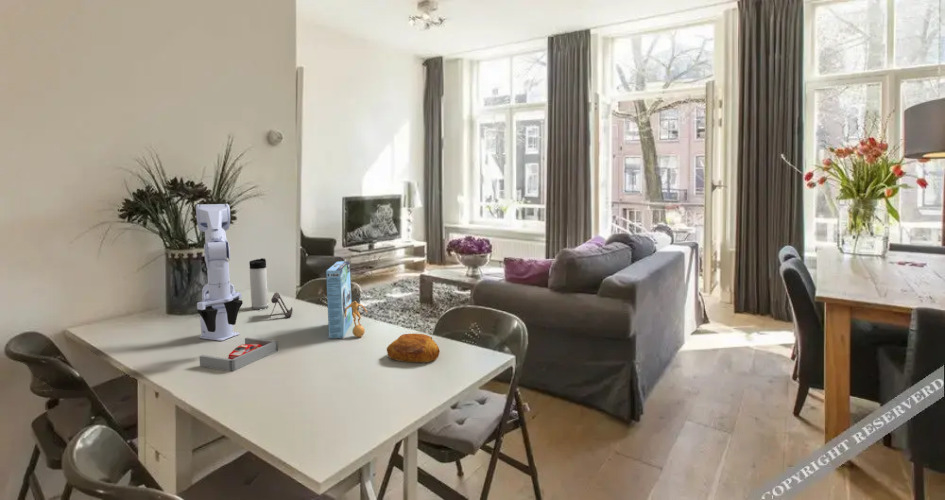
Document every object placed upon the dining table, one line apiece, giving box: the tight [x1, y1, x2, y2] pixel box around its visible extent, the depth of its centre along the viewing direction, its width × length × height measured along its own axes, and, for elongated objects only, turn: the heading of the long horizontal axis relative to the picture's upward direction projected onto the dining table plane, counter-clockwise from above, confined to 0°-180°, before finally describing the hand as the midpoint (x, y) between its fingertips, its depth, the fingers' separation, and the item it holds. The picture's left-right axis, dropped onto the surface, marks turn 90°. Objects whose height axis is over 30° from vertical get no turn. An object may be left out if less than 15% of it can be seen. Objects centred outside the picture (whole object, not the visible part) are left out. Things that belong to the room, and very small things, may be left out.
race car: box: [227, 343, 262, 359], centre depth 149 cm, size 13×5×4 cm, turn 173°
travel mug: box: [248, 257, 269, 311], centre depth 204 cm, size 6×7×20 cm
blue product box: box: [325, 260, 353, 339], centre depth 174 cm, size 20×5×23 cm, turn 4°
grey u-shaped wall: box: [198, 336, 279, 373], centre depth 148 cm, size 12×18×3 cm, turn 161°
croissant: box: [386, 333, 441, 364], centre depth 150 cm, size 14×16×8 cm
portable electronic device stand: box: [269, 292, 293, 319], centre depth 193 cm, size 9×8×8 cm
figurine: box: [345, 300, 368, 338], centre depth 169 cm, size 8×6×12 cm
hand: (222, 327), depth 149 cm, fingers open, 7 cm apart
